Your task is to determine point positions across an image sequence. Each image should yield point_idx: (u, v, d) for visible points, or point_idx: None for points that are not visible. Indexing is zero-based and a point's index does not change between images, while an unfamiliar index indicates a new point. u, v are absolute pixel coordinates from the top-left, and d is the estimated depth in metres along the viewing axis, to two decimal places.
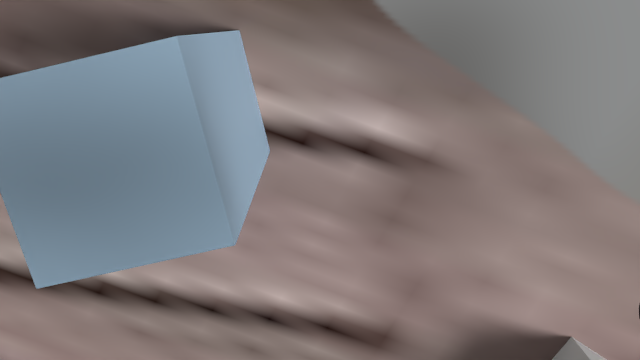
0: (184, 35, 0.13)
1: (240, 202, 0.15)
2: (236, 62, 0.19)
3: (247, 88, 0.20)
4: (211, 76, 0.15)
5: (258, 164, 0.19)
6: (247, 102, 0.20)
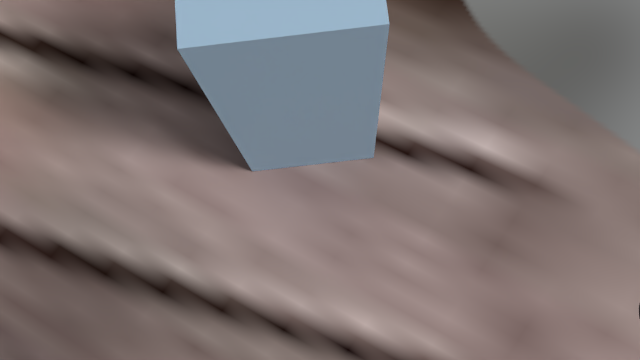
0: None
1: None
2: None
3: None
4: None
5: None
6: None
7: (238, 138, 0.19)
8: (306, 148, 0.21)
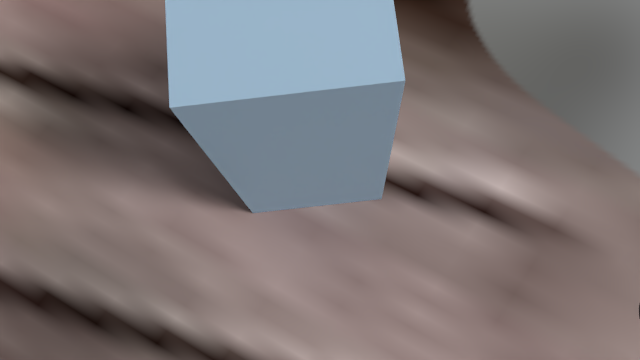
0: None
1: None
2: None
3: None
4: None
5: None
6: None
7: (237, 185, 0.18)
8: (310, 192, 0.19)
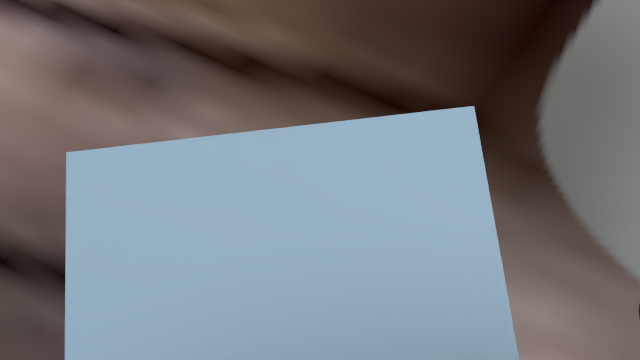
0: None
1: None
2: None
3: None
4: None
5: None
6: None
7: None
8: None
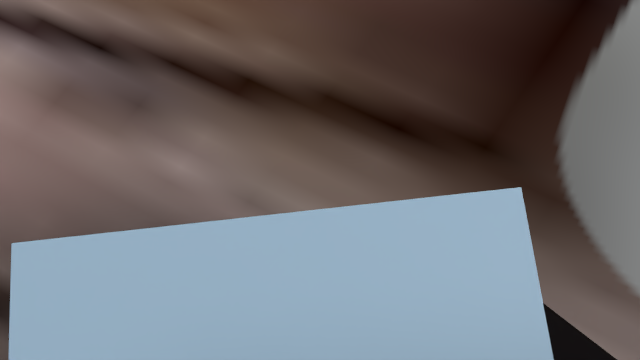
0: None
1: None
2: None
3: None
4: None
5: None
6: None
7: None
8: None
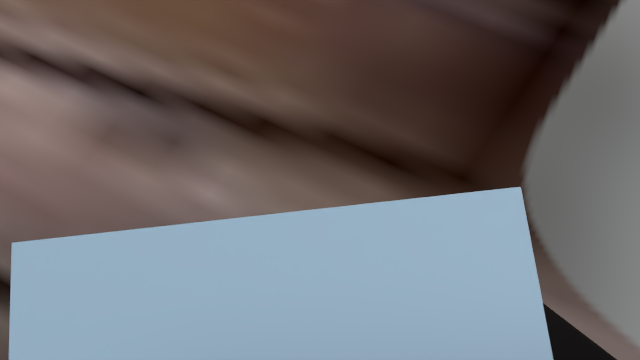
0: None
1: None
2: None
3: None
4: None
5: None
6: None
7: None
8: None
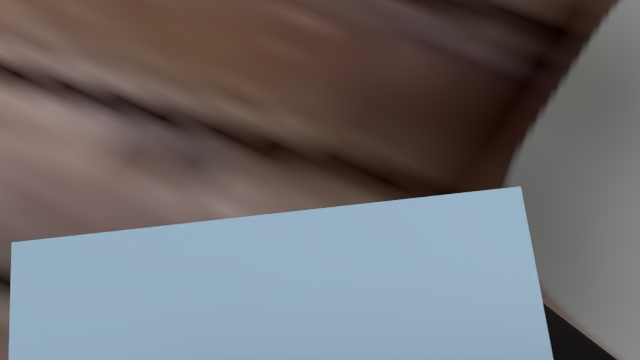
0: None
1: None
2: None
3: None
4: None
5: None
6: None
7: None
8: None
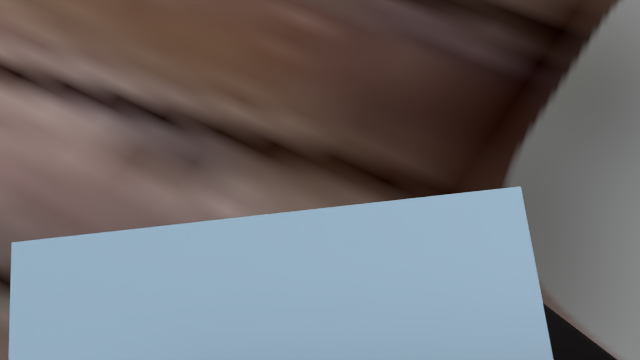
0: None
1: None
2: None
3: None
4: None
5: None
6: None
7: None
8: None
